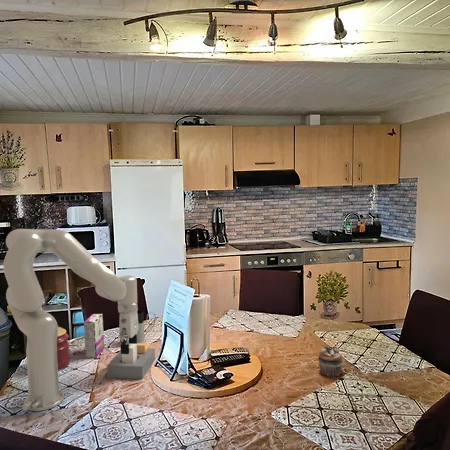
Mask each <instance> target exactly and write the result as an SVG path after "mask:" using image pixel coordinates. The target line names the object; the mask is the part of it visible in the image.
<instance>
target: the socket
mask: <svg viewBox="0 0 450 450" xmlns="http://www.w3.org/2000/svg"><path fill="white" fill-rule="evenodd" d="M155 360H156V348H155V347H149V348H148V350H147V351H146V352H145V353H137V361H136V362H135V363H122V354H121V349H120V350H119V352H117V354H116V355H115V356H114V357H113V358H112V359H111V360H110V361H109V363H108V364H107V365H106V373H107V378H108V379H133V380H134V379H137V380H139V379H140V380H144V378H145V375H146V374H148V371H149V370H150V368H151V366H152V365H153V364H154V361H155Z"/></svg>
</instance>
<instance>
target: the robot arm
mask: <svg viewBox="0 0 450 450" xmlns="http://www.w3.org/2000/svg"><path fill="white" fill-rule="evenodd" d="M5 245H6V247H7V249H8V250H7V252H6V255H5V257H4V260H3V272H4V277H5V279H6V281H7V285H8V287H7V289H6V293H5V299H6V301H7V304H8V308H9V310H10V312H11V314H12V318H13V319H14V321H15V324H16V325H17V328H18V329H19V330H20V332H22V333H23V334H24V335H25V336H26V340H27V341H26V350H25V352H26V354H25V355H26V356H25V357H26V368H27V371H26V372H27V387H28V388H27V389H28V395H27V397H26V398H25V400H24V402H23V405H22V406H21V409H22V411H25V412H26V411H30V412H41V411H46V410H50V409H53V408H55V407H57V406H58V405H60V404H61V403H62V402H63V401H64V399H65V394H64V392H63V391H62V390H60V389H59V388H60V386H59V383H60V382H59V370H58V363H57V334H58V327H59V325H58V322H57V320H56V318H55V317H54V316H53V315H52V314H51V313H49V312H48V311H45V310H44V309H43V307H42V306H44V305H43V304H44V301H45V295H44V292H43V290H42V287H41V285H40V282H39V280H38V277H37V275H36V272H35V268H34V261H35V258H36V256H37V255H38V253H40V254H41V253H52V254H54V255H55V256H56V257H58V259H59V260H61V261H62V262H63V263H64V264H65V265H66V266H67V267H68V268H69V269H70V270H71V271H72V272H73V273H74V274H75V275H77V276H79V277H80V278H82V279H84V280H87V281H88V282H90V283H92V285H95V292H96V293H97V295H98V296H100V297H101V298H105V299H107V300H110V301H112V302H117V310H118V313H119V318H118V319H119V323H118V324H119V327H118V328H119V329H118V330H119V337H118V338H119V344H120V350H121V354H129V344H137V335H136V334H137V332H138V330H139V326H138V314H137V310H139V308H138V282H137V281H138V280H137V278H136V276H134V275H122V276H119V277H118V275H116V273H114V272H113V271H112V270H111V269H109V268H108V267H107V266H105V264H103V263H102V262H100V260H98V259H97V258H96V257H95V256H94V255H92V254H91V253H90V252H89V251H88V250H87V248H85V247H84V246H83V244H82V243H80V241H78V239H76V238H75V237H74V236H73V235H72V234H71V233H69V232H68V231H65V230H61V229H37V228H36V229H35V228H33V229H32V228H17V229H14V230H12V231H10V232H9V233H8V234H7V236H6V238H5ZM128 340H129V344H128Z"/></svg>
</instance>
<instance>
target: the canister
mask: <svg viewBox="0 0 450 450" xmlns="http://www.w3.org/2000/svg"><path fill="white" fill-rule="evenodd" d="M69 338H70V337H69V334H68V333H67V330H66V329H65V328H63V327H60V326H58V334H57V363H58V371H60V370H63V369H65V368H67V367H68V366H69V365H70V362H71V358H70V343H69V341H68V339H69Z"/></svg>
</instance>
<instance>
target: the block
mask: <svg viewBox="0 0 450 450" xmlns="http://www.w3.org/2000/svg"><path fill="white" fill-rule="evenodd" d="M136 361H137V344H129V354H122V363H135V362H136Z"/></svg>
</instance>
